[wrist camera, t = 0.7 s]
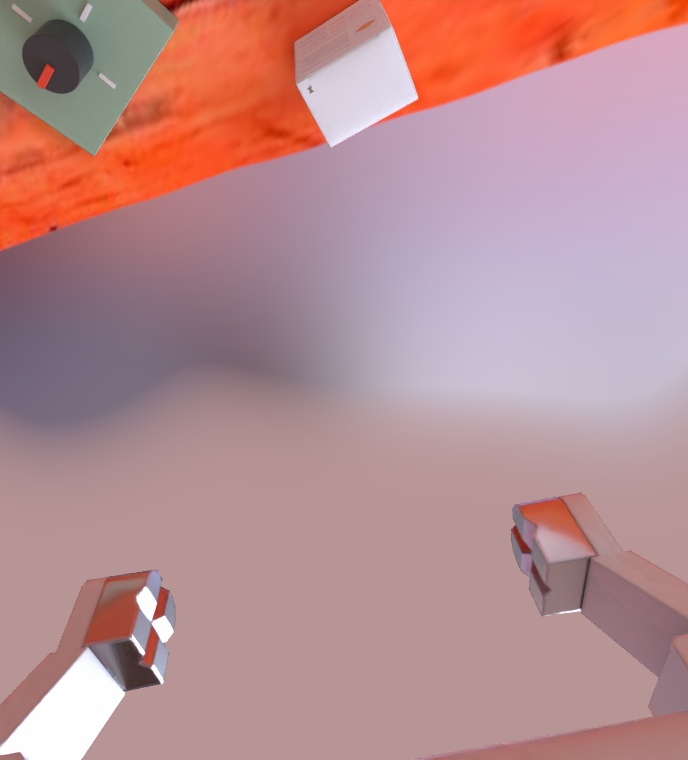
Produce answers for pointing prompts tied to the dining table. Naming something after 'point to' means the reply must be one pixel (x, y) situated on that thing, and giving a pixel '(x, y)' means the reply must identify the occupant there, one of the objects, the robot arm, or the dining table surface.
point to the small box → (352, 71)
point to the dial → (57, 56)
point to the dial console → (110, 65)
